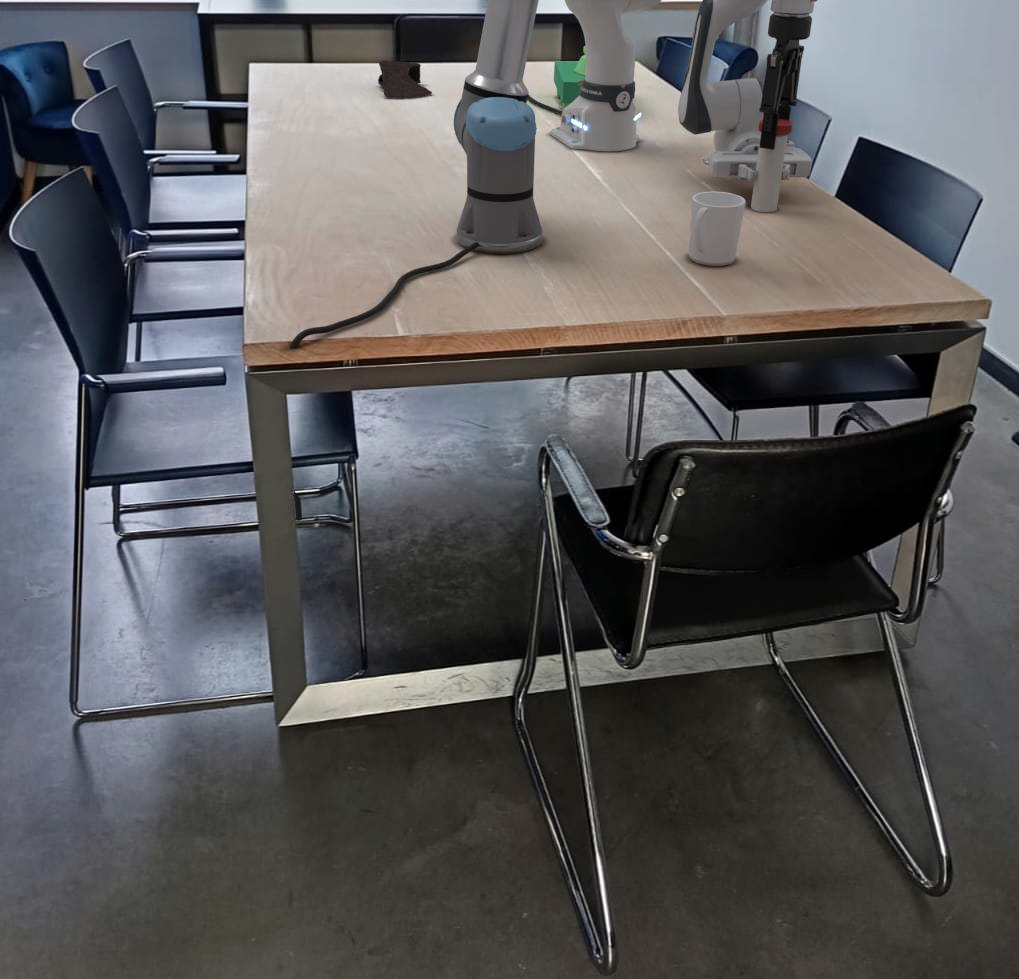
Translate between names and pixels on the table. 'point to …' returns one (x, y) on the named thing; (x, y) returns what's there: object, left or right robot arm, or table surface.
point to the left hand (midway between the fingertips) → (772, 144)
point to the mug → (715, 227)
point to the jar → (769, 176)
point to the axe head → (401, 79)
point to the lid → (780, 127)
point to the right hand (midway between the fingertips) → (770, 175)
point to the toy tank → (569, 79)
